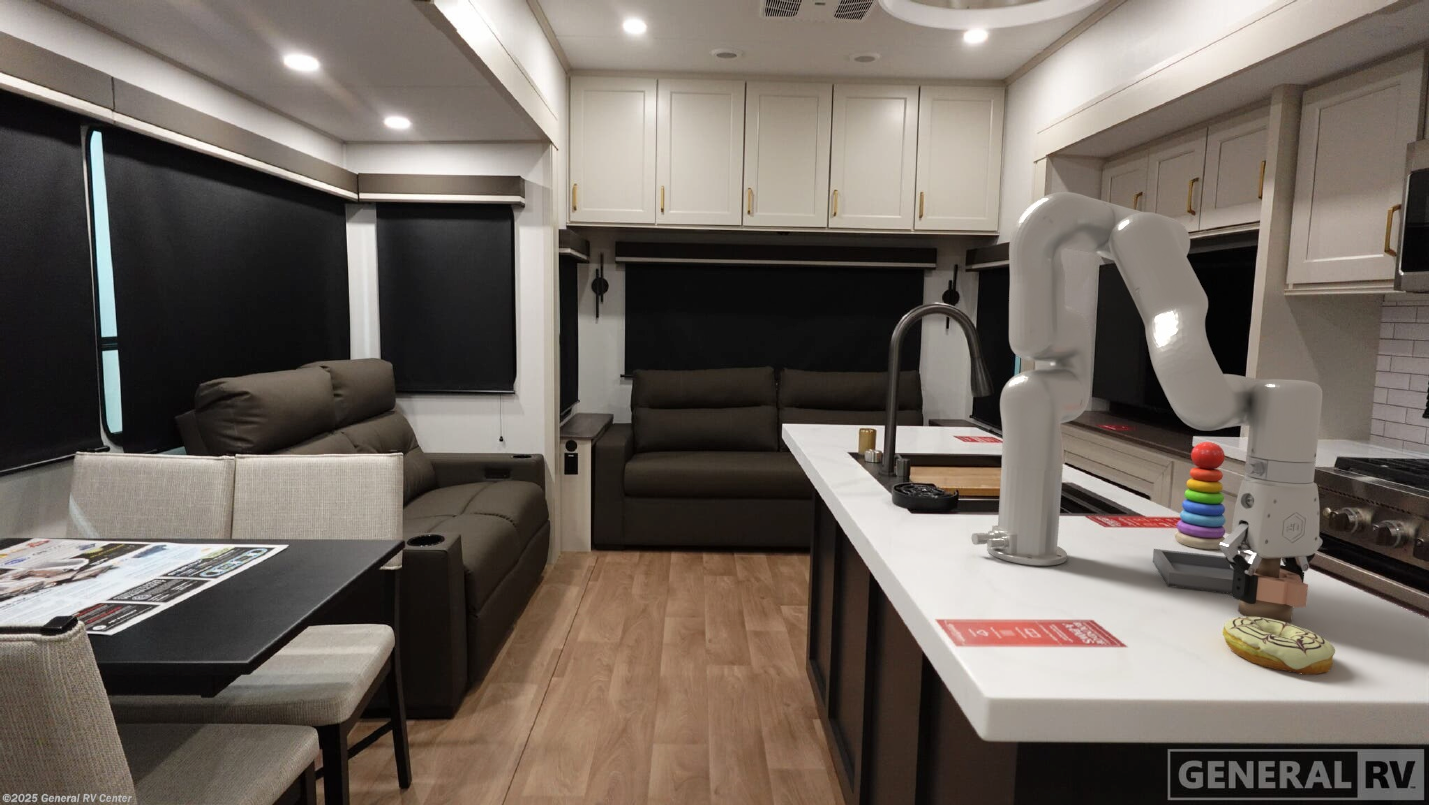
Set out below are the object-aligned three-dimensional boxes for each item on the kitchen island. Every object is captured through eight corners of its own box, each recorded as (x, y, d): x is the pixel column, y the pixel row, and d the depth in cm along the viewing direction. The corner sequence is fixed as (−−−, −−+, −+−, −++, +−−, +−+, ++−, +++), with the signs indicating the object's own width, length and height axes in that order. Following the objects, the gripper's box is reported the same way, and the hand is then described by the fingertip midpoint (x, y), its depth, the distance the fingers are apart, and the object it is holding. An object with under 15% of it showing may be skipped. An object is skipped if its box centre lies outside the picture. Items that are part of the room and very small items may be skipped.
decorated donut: (1312, 688, 85) (1315, 655, 84) (1206, 652, 93) (1209, 622, 93) (1345, 665, 91) (1349, 634, 90) (1243, 633, 99) (1246, 605, 99)
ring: (1279, 609, 99) (1281, 586, 99) (1223, 586, 107) (1225, 566, 107) (1321, 605, 101) (1323, 583, 101) (1263, 583, 109) (1265, 563, 109)
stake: (1267, 625, 102) (1274, 552, 100) (1227, 608, 107) (1233, 539, 106) (1302, 622, 103) (1310, 549, 102) (1261, 605, 109) (1268, 537, 108)
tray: (1269, 598, 112) (1271, 584, 111) (1168, 586, 116) (1169, 572, 116) (1243, 571, 124) (1245, 558, 123) (1152, 561, 128) (1153, 548, 128)
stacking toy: (1236, 551, 135) (1246, 446, 133) (1190, 550, 135) (1199, 445, 133) (1208, 538, 143) (1217, 439, 141) (1165, 537, 143) (1173, 438, 141)
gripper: (1252, 479, 97) (1239, 613, 99) (1358, 475, 101) (1343, 604, 103) (1202, 467, 105) (1190, 593, 107) (1302, 464, 109) (1290, 585, 111)
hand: (1266, 597), depth 105 cm, fingers closed on ring, 7 cm apart
